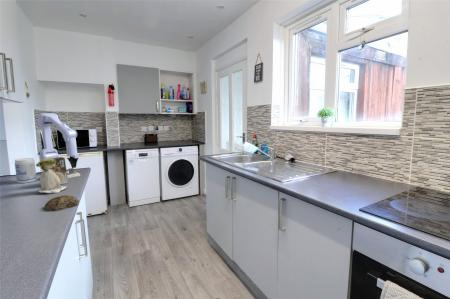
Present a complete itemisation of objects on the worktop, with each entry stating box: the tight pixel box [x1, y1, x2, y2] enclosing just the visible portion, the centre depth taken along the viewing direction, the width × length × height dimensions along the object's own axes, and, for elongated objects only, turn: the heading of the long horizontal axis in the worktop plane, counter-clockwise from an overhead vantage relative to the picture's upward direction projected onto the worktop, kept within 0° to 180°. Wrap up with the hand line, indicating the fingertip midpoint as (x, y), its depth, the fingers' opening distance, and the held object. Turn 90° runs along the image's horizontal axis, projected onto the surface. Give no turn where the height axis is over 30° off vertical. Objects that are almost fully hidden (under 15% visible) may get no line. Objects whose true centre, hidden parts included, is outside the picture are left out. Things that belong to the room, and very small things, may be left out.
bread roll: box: [44, 194, 79, 212], centre depth 104 cm, size 13×12×5 cm
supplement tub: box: [14, 157, 38, 184], centre depth 145 cm, size 10×10×15 cm
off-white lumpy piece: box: [35, 158, 67, 194], centre depth 124 cm, size 12×13×18 cm
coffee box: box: [51, 156, 69, 186], centre depth 138 cm, size 9×6×16 cm
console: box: [67, 170, 81, 179], centre depth 158 cm, size 16×13×4 cm
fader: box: [68, 167, 75, 174], centre depth 158 cm, size 2×2×4 cm
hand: (74, 167), depth 154 cm, fingers closed
